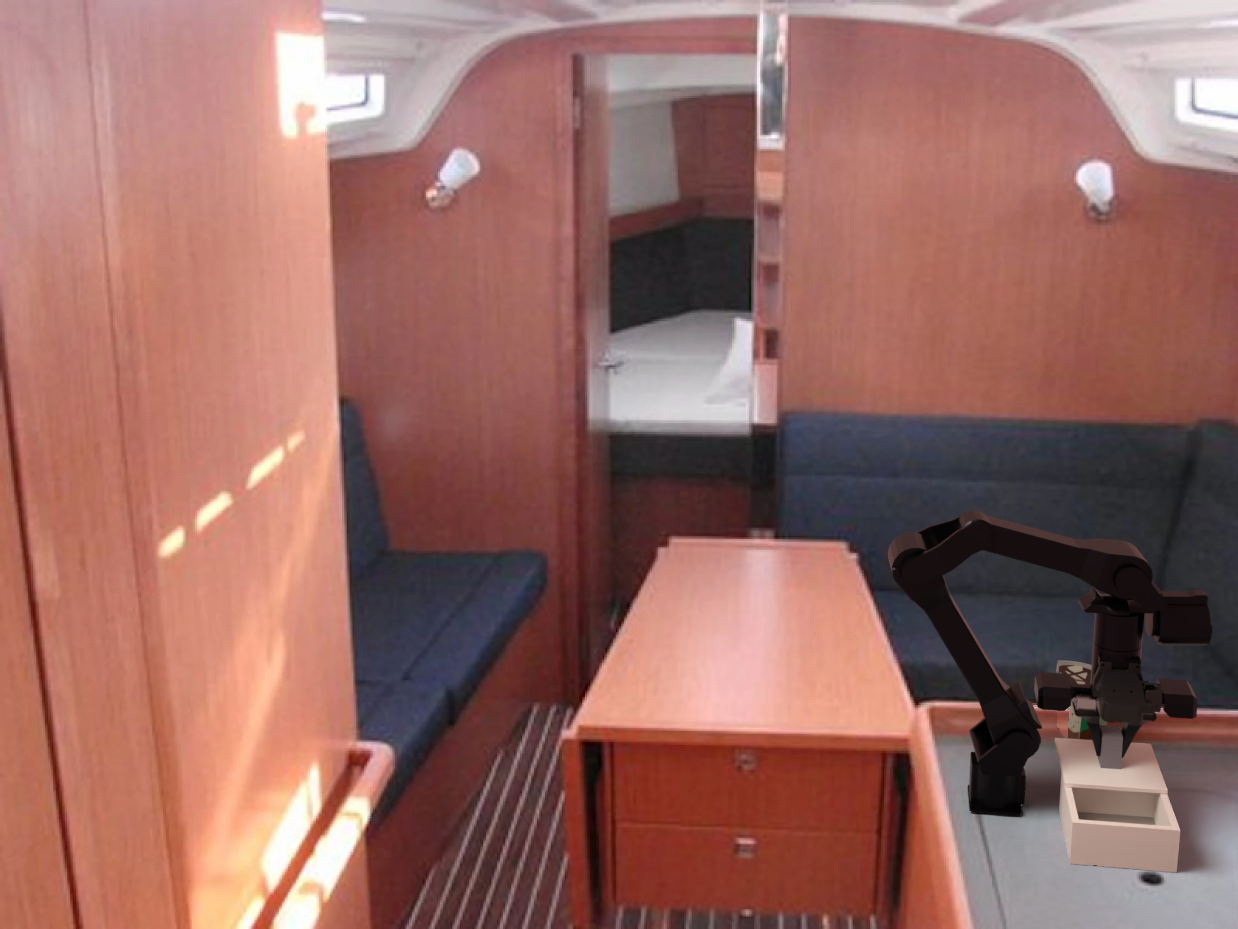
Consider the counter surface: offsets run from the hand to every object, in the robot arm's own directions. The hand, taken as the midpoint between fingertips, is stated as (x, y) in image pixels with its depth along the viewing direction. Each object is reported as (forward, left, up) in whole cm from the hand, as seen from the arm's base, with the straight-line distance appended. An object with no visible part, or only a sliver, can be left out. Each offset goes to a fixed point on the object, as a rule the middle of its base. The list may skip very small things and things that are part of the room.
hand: (1109, 755), depth 166 cm
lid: (0, 0, -1) cm, 1 cm away
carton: (0, -8, -7) cm, 11 cm away
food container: (0, +18, -7) cm, 19 cm away
